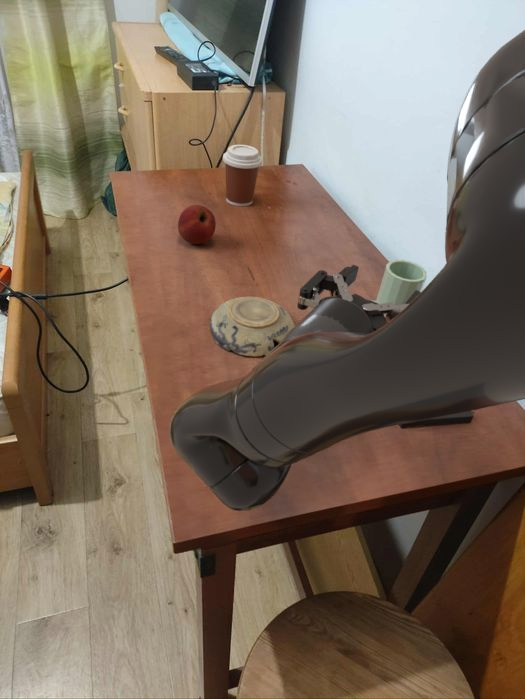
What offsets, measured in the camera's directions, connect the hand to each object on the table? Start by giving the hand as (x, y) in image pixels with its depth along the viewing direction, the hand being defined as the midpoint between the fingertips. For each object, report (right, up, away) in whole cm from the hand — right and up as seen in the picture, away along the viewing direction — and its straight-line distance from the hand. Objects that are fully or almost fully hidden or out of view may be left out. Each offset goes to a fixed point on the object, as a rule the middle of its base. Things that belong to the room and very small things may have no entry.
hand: (385, 284), depth 64 cm
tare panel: (+9, -16, +12) cm, 22 cm away
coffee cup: (-21, +28, +59) cm, 68 cm away
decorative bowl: (-17, -5, +22) cm, 28 cm away
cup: (+6, -3, +22) cm, 23 cm away
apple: (-29, +14, +41) cm, 53 cm away
